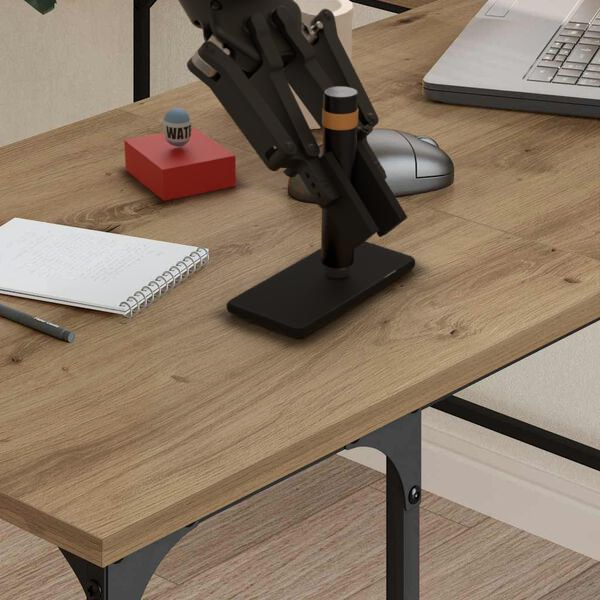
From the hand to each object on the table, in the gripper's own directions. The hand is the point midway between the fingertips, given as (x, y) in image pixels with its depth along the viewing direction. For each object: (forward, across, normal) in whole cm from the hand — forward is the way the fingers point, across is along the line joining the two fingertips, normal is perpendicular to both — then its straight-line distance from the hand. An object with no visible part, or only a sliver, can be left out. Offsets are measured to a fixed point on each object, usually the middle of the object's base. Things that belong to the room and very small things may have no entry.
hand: (379, 233), depth 100 cm
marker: (0, 0, -6) cm, 6 cm away
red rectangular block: (-16, -6, -24) cm, 29 cm away
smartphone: (+1, +1, -7) cm, 7 cm away
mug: (-20, -25, -28) cm, 43 cm away
